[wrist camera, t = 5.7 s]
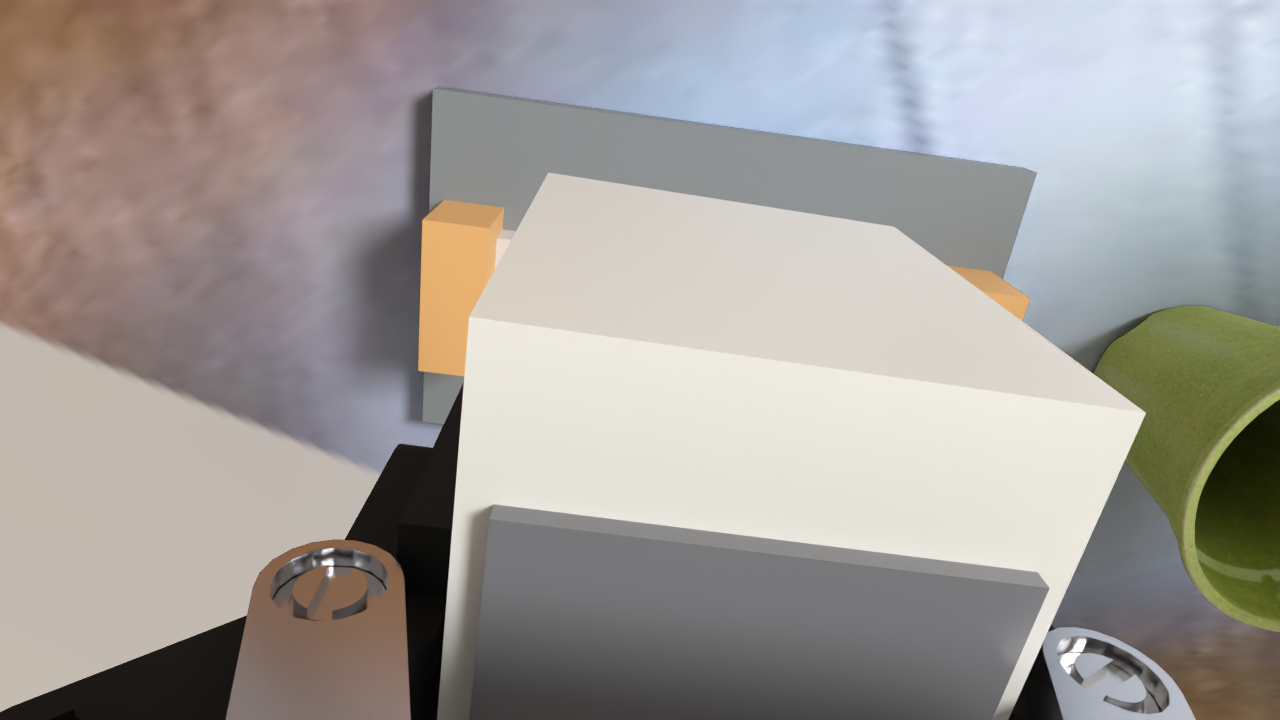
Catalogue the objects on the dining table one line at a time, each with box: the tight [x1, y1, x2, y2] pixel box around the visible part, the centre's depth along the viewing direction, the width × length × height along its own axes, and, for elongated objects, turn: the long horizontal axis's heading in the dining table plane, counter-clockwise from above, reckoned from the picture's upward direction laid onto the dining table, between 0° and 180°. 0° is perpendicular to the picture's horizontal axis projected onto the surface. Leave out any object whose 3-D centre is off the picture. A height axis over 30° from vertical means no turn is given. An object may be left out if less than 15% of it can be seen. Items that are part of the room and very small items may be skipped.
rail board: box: [418, 87, 1037, 424], centre depth 27 cm, size 20×12×4 cm, turn 82°
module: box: [437, 172, 1146, 720], centre depth 10 cm, size 5×8×6 cm, turn 171°
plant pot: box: [1094, 306, 1280, 632], centre depth 26 cm, size 9×9×9 cm
